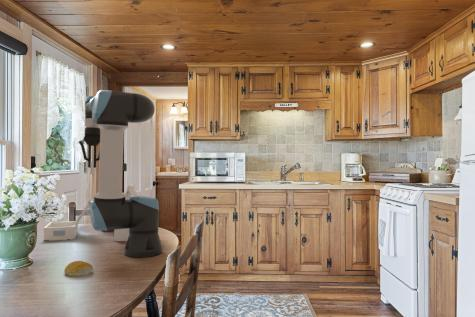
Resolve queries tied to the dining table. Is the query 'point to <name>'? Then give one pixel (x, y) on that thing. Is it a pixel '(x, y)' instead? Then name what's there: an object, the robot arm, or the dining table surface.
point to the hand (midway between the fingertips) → (92, 174)
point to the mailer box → (60, 230)
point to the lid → (83, 212)
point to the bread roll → (78, 269)
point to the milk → (124, 233)
